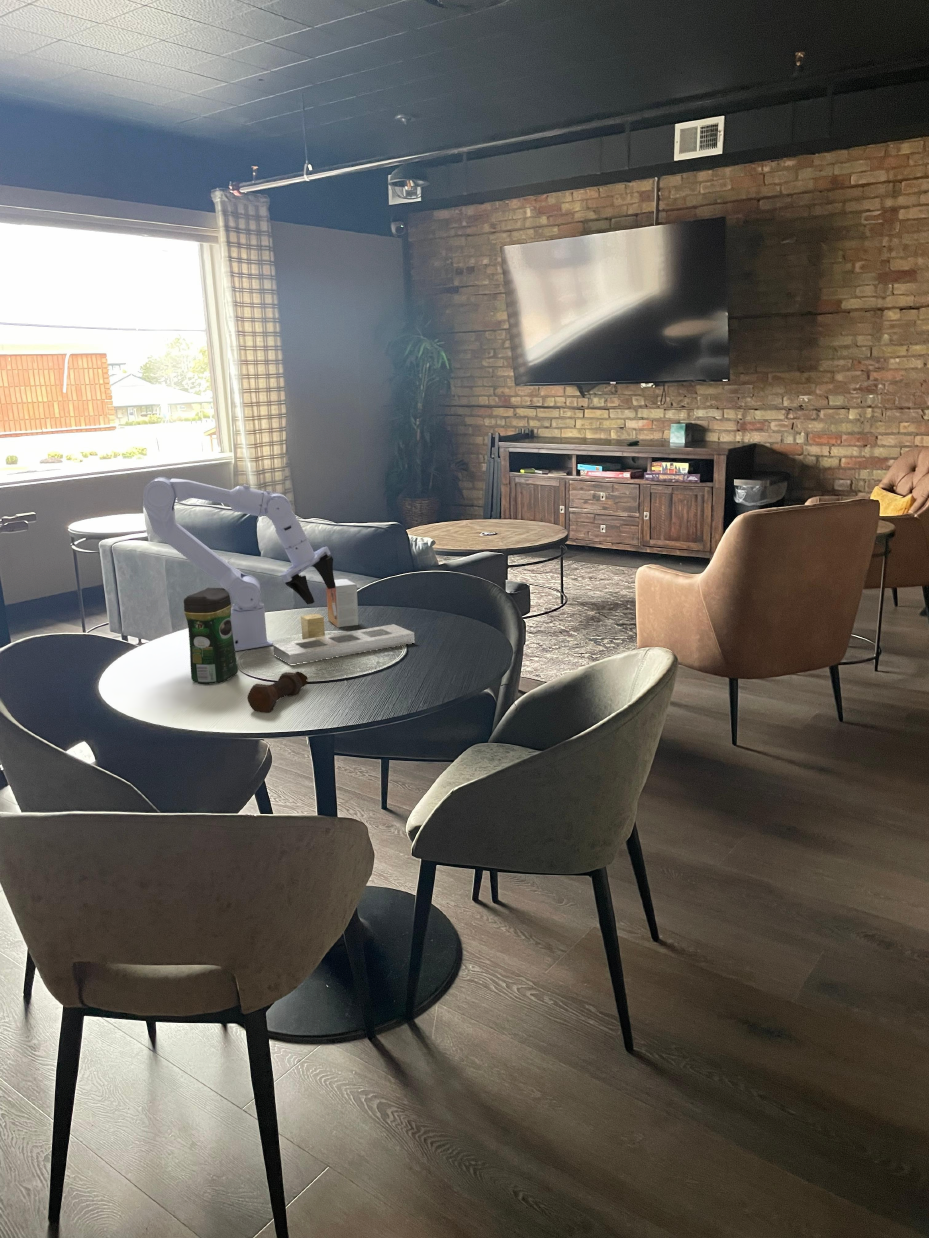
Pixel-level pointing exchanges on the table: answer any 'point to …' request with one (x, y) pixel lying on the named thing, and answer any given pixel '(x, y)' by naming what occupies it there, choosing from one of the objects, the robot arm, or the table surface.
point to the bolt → (275, 691)
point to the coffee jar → (210, 636)
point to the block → (312, 626)
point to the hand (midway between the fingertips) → (321, 595)
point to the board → (343, 644)
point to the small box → (343, 603)
